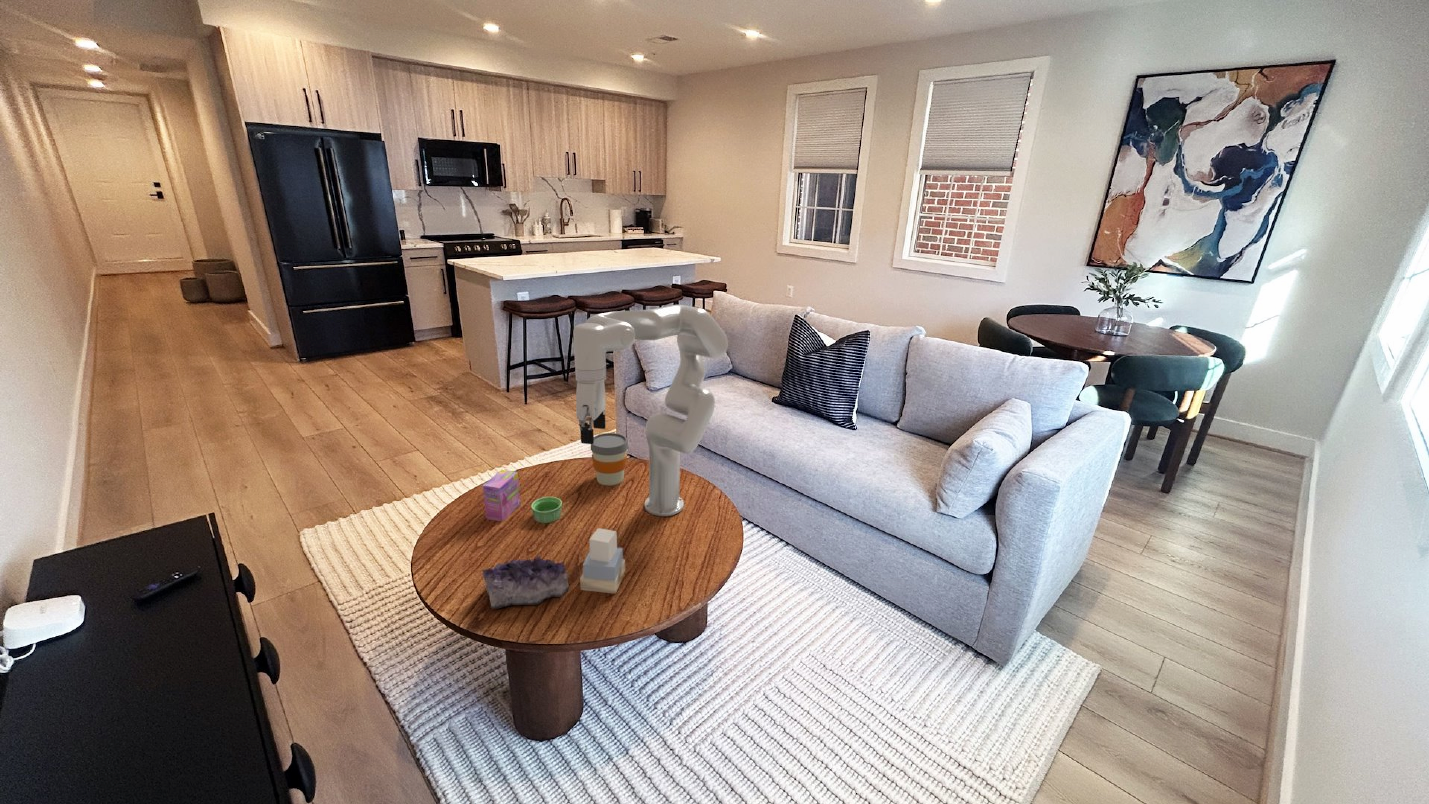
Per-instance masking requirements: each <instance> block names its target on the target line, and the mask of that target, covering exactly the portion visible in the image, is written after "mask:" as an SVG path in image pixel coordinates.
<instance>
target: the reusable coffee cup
mask: <svg viewBox="0 0 1429 804" xmlns="http://www.w3.org/2000/svg"><path fill="white" fill-rule="evenodd" d="M628 448H629V444H628V438H627V437H626V436H625V435H624V434H621V433H617V432H605V433H599V434H597V435H595V436H594V443H593V444H590V451H591V453H592V454H591V460H592V465H593V469H594V471H595V474H596V481H597V482H598V484H600V485H603V486H616V485H619V484H621V483H622V482H623V481H624V476H625V469H626V467H627V461H628V452H627V451H628Z"/></svg>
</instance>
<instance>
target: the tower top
mask: <svg viewBox="0 0 1429 804" xmlns="http://www.w3.org/2000/svg"><path fill="white" fill-rule="evenodd" d="M623 552H624V550H623V547H617V552H616V553H615V555H614V556H613V558H612V559H611V561H610V562H609V563H607V562H602V561H597V560H592V559H591V558H590V550H589V551H588V553H587V556H586V558H585V559H584V561H583V564H582V573H583V575H584V578H590V579H602V580H613V581H615V580H616V577H617V575H618V572H619V569H620V567H621V564H622V562H623V559H624V553H623Z"/></svg>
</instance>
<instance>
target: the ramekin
mask: <svg viewBox="0 0 1429 804" xmlns="http://www.w3.org/2000/svg"><path fill="white" fill-rule="evenodd" d="M562 504H563V501H562V500H561V499H560V498H558V497H557V496H556V497H555V496H542V497H539V498H537V499H535V500H534V501H533V502H532V503H531V506H530V507H531V511H532V515H533V519H534V520H535V522H538V523H539V524H540V523H541V524H549V523H553V522H556V521H557V520H559V519H560V517H561V516H562V506H563V505H562Z"/></svg>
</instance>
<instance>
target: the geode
mask: <svg viewBox="0 0 1429 804" xmlns="http://www.w3.org/2000/svg"><path fill="white" fill-rule="evenodd" d="M482 578H483V580H484V582H485V590H486V592H487V595H488V596H489V602H490V607H491V609H492V610H493V609H501V608H504V607H509V606H512V605H513V606H520V607H521V606H525V605H526V606H536V605H537V606H538V605H539V604H541V603H542V602H543V601H544V600H546V599H550V598H552V597H553V598H562V597H563V596H564V595H565V594H566V593H567V592H568V591H569V588H570V585H569V582H568V573H567V568H566V566H565V563H564V562H557V563H556V562H555V561H553V560H551V559H542V558H541V556H540V555H538V556H537V557H536V558H534V559H533V561H532V560H531V559H530V558H527V559H524V560H523V559H522V560H520V559H518V560H515V559H514V558H513V559H512V560H510V561H507V562H505V563H497V564H495V566H494V567H493V568H492V567H491V568H486V569H482Z"/></svg>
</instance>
